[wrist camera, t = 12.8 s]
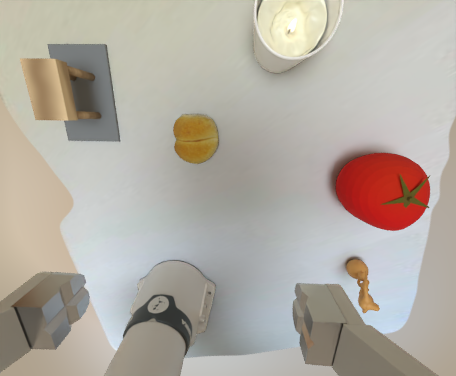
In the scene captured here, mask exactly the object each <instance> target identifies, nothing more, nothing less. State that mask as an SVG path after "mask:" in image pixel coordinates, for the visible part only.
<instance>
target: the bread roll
mask: <svg viewBox="0 0 456 376" xmlns="http://www.w3.org/2000/svg"><path fill="white" fill-rule="evenodd" d="M173 131H174V135H175V137H176V142H175V146H174V147H175V151H176V153H177V154H178V155H179V157H180V158H182V159H183V160H185V161H187V162H189V163H194V164H199V163H202V162H205V161H206V160H208V159H209V158H211V157H212V155H213V154H214V153H215V151H216V149H217V146H218V130H217V127H216V125H215V123H214V121H213V120H212V119H211V118H209V117H208V116H206V115H200V114H190V115H188V114H182V116H181V117H180V118H178V119H177V120H176V122H175V124H174V129H173Z"/></svg>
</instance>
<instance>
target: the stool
mask: <svg viewBox="0 0 456 376" xmlns="http://www.w3.org/2000/svg"><path fill="white" fill-rule="evenodd" d="M20 61H21V65H22V69H23V73H24V76H25V80H26V84H27V88H28V92H29V96H30V100H31V104H32V107H33V111H34V115H35V119H36V120H78V119H100V118H101V114H100V113H99V112H85V111H76V108H75V103H74V98H73V92H72V87H71V82H70V80H72V81H75V80H76V77H79V78H83V79H87V80H91V81H94V80H95V75H94V74H92V73H89V72H86V71H83V70H79V69H76V68H73V67H70V66H67V62H63V61H60V60H57V59H20Z"/></svg>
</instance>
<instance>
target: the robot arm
mask: <svg viewBox="0 0 456 376" xmlns="http://www.w3.org/2000/svg"><path fill="white" fill-rule="evenodd" d="M85 283H86V280H85V277H84V275H82V274H75V273H61V272H40V273H38V274H36V275H35V276H33V277H32V278H31V279H29V280H28V281H27V282H25V283H24V284H23V285H22V286H21V287H19V288H18V289H17V290H15V291H14V292H12V293H11V294H10V295H8V296H7V297H6V298H4V299H3V300H2V301H1V302H0V372H1V371H3V370H5V369H6V368H7V367H9V366H10V365H11V364H12V363H14V362H15V361H17V360H18V359H20V358H21V357H22V356H24V355H25V354H26V353H28V352H29V351H30V350H31V349H57V347H58V346H59V345H60V344H61V342H62V341H63V340H64V339H65V337H66V336H67V335H68V333H69V332H70V331H71V324H73V323H74V322H76V321H78V320H79V319H80V318H81V317H82V316H83V314H84V313H85V312H86V309H87V307H88V304H89V298H90V296H89V292H88V291H87V290H86V289H85V288H84V285H85ZM137 287H138V290H139V292H138V294H137V296H136V298H135V301H134V303H133V305H132V307H131V310H130V312H131V314H132V317H131V319H130V320H129V322H128V324H127V327H126V329H125V331H124V335H123V340H122V342H121V344H120V346H119V348H118V350H117V352H116V354H115V356H114V358H113V359H112V361H111V363H110V365H109V367H108V369H107V371H106V373H105V375H104V376H180V374H181V369H182V364H183V359H184V357H185V355H186V353H187V351H188V349H189V347H190V346H192V345H193V344H194V343H195V339H196V334H199V333H202V332H205V330H206V327H207V323H208V319H209V315H210V310H211V306H212V302H213V298H214V294H215V290H216V285H215V284H214V283H212V282H211V281H209V280H207V279H206V278H205V277H204V276H203V275H202V274H201V272H200V271H199V270H197V269H196V268H195V267H193V266H192V265H190V264H187V263H185V262H181V261H166V262H163V263H160V264H158V265H156V266H155V267H154V268H153V269H152V270H151V271H150V273H149V274H148V275H147V276H146V277H144V278H143V279H141V280H140V281H139V282H138V284H137ZM295 294H296V297H297V298H296V299H295V300H294V301H293V320H294V325H295V328H296V331H297V332H298V333H299V334H300V335H301V336H300V347H301V350H302V354H303V357H304V360H305V364H312V365H323V366H333V367H332V368H333V369H334V370H335V372H336V373H337V374H338V375H339V376H438V375H437V374H436V373H434V372H433V371H431V370H430V369H429V368H427V367H426V366H425V365H423V364H422V363H421V362H419V361H418V360H417V359H415V358H414V357H412V356H411V355H410V354H409V353H407V352H406V351H404V350H403V349H402V348H400V347H399V346H398V345H396V344H395V343H393V342H392V341H391V340H390V339H388V338H387V337H386V336H384V335H383V334H382V333H380V332H379V331H377V330H376V329H375V328H373V327H372V326H371V325H365V323H364V321H363V320H362V318H361V317H360V315H359V314H358V312H357V310H356V309H355V307H354V306H353V304H352V302H351V301H350V299H349V298H348V296H347V295H346V293H345V291H344V290H343V288H342V287H341V286H340V285H339V284H306V283H297V284H296V287H295Z"/></svg>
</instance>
